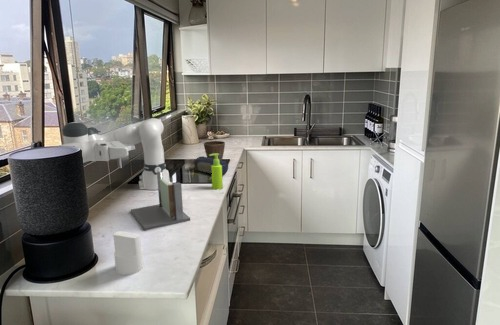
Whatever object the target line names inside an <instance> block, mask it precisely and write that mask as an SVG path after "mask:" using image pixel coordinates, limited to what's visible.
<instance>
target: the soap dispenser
mask: <svg viewBox="0 0 500 325" xmlns="http://www.w3.org/2000/svg"><path fill="white" fill-rule="evenodd" d="M213 155H215V159H214V160H213V164H214V165H212V166H211V170H212V174H211V189H212V190H214V189H219V190H221V189H222V190H223V187H224V184H223V175H222V165H220V162H219V159H218V155H219V154H218V153H214V154H210V155H209V156H213Z"/></svg>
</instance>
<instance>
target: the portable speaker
mask: <svg viewBox="0 0 500 325" xmlns="http://www.w3.org/2000/svg"><path fill="white" fill-rule="evenodd" d="M213 160H214V158H208V157H207V156H203V155H202V156H198V157H197V158H196V159H195V161H194V167H195V169H196V170H197V171H198V172H202V171H203V173H206V172H207V174H211V173H212V170H211V166H212V165H214V164H213ZM219 162H220V165H222V176H223V175H225V174H227V172H228V170H229V165H228V164H229V163H227V162H226V161H225V160H223V159H222V160H219Z"/></svg>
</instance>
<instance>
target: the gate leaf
mask: <svg viewBox="0 0 500 325" xmlns="http://www.w3.org/2000/svg"><path fill="white" fill-rule="evenodd" d="M160 191H161V204H162V206H163V207H164V208H165V209H166V210H167V211H168V212H169V213H170V216H171V217H174V204H173V189H172V184H171V185H169V184H168V183H167V182H166V181H165V180H164V179H162V178H160Z"/></svg>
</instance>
